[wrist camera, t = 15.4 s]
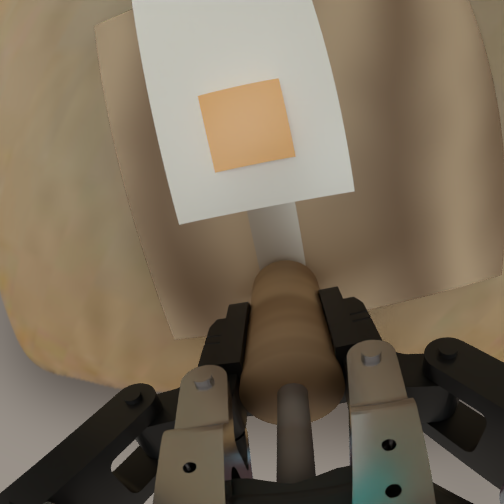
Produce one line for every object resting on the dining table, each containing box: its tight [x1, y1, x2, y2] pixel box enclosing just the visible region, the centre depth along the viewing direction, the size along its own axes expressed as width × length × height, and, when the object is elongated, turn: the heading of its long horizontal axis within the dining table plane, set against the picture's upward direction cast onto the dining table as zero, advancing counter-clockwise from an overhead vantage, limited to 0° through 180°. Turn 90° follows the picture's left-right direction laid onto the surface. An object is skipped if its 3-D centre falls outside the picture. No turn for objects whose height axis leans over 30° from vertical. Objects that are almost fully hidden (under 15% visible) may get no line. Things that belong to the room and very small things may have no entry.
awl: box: [239, 260, 345, 484], centre depth 9 cm, size 3×3×9 cm
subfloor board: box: [94, 0, 504, 340], centre depth 12 cm, size 18×16×1 cm
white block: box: [132, 0, 355, 225], centre depth 9 cm, size 4×6×7 cm, turn 12°
